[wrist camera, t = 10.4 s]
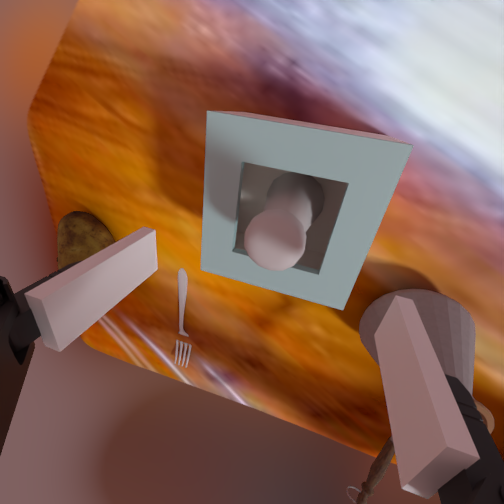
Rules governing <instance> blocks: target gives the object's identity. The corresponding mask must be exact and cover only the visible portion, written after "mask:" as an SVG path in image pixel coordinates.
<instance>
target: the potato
mask: <svg viewBox="0 0 504 504" xmlns="http://www.w3.org/2000/svg"><path fill="white" fill-rule="evenodd" d="M57 241H58V242H57V243H58V257H57V262H58V268H59V269H61V268H63V267H65V266H66V265H68V264H71V263H75V262H78V261H81V260H82V261H83V260H85V259H87V258H89V257H91V256H92V255H94V254H96V253H98V252H100V251H101V250H103V249H105V248H107V247H108V246H110V245H112V244H114V243H115V241H114V239H113V237H112V235H111V234H110V232H109V231H108V229H107V228H106V227H105V226H104V225H103V224H102V223H101V222H100V221H98V220H97V219H96V218H95V217H93V216H92V215H91V214H89V213H86V212H81V211H73V212H71V213H69V214H67V215H65V216H64V217H63V218H62V219H61V220H60V222H59V225H58V237H57Z"/></svg>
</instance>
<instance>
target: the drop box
mask: <svg viewBox="0 0 504 504" xmlns="http://www.w3.org/2000/svg"><path fill="white" fill-rule="evenodd" d="M413 146H414V145H411V144H408V143H406V142H403V141H401V140H398V139H395V138H393V137H390V136H388V135H381V134H375V133H369V132H363V131H357V130H351V129H345V128H339V127H333V126H327V125H321V124H315V123H309V122H303V121H297V120H291V119H285V118H279V117H273V116H267V115H260V114H254V113H248V112H235V111H207V122H206V147H205V172H204V198H203V223H202V248H201V270H203V271H207V272H210V273H214V274H217V275H221V276H224V277H228V278H231V279H235V280H238V281H242V282H245V283H249V284H252V285H256V286H259V287H263V288H266V289H270V290H273V291H277V292H280V293H284V294H287V295H291V296H294V297H298V298H301V299H305V300H308V301H312V302H315V303H319V304H322V305H326V306H329V307H333V308H336V309H340V310H343V309H344V307H345V305H346V302H347V300H348V298H349V295H350V293H351V291H352V288H353V286H354V284H355V281H356V279H357V277H358V274H359V272H360V270H361V267H362V265H363V263H364V260H365V258H366V256H367V253H368V251H369V249H370V246H371V244H372V242H373V239H374V237H375V235H376V232H377V230H378V228H379V225H380V223H381V221H382V218H383V216H384V214H385V211H386V209H387V207H388V204H389V202H390V200H391V197H392V195H393V193H394V190H395V188H396V186H397V183H398V181H399V179H400V176H401V174H402V172H403V169H404V167H405V165H406V162H407V160H408V158H409V155H410V153H411V151H412V148H413ZM287 172H296V173H301V174H306V175H311V176H313V177H314V178H315V179H316V180H317V181H318V182H319V183H320V184H321V187H322V191H323V194H324V198H325V199H324V205H323V211H322V212H321V214H320V215H319V216H318V217H317V219H316V220H315V221H314V222H313V224H312V225H311V226H310V227H309V228H308V230H307V231H306V232H305V233H306V236H307V237H306V244H305V250H304V253H303V255H302V256H301V258H300V259H299V260H298V261H297V262H296V264H295V265H294V266H292V267H290V268H288V269H285V270H283V271H273V270H268V269H265V268H263V267H260V266H258V265H257V264H256V263H255V262H254V261H253V260H252V259H251V258H250V257H249V256H248V253H247V251H246V249H245V247H244V236H245V231H246V229H247V227H248V226H249V224H250V222H251V220H252V219H253V218H254V217H255V216H257V215H259V214H260V213H262V212H264V207H265V202H266V196H267V191H268V189H269V187H270V186H271V184H272V182H273V180H274V179H276V178H277V177H279V176H281V175H282V174H284V173H287Z"/></svg>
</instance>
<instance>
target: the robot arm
mask: <svg viewBox="0 0 504 504" xmlns="http://www.w3.org/2000/svg"><path fill="white" fill-rule="evenodd" d="M156 270H158V267H157V249H156V232H155V230H154V229H150V228H147V227H142V228H141V229H139V230H137V231H135V232H133V233H132V234H130V235H128V236H126V237H124V238H123V239H121V240H119V241H117V242H116V243H114V244H112V245H110V246H108V247H107V248H105V249H103V250H101V251H100V252H98V253H96V254H94V255H92V256H91V257H89V258H87V259H85V260H83V261H82V260H81V261H78V262H75V263H71V264H68V265H66V266H65V267H63V268H61V269H59V270H58V271H57V272H54V273H52V274H50V275H49V276H48V277H45V278H43V279H41V280H39V281H37V282H35V283H34V284H32V285H30V286H28V287H26V288H24V289H22V290H21V291H19V292H17V293H15V294H14V293H13V291H12V289H11V286H10V285H9V282H8V280H7V279H6V278H5V277H2V276H0V455H1V452H2V449H3V445H4V442H5V439H6V436H7V433H8V430H9V426H10V424H11V420H12V417H13V414H14V411H15V408H16V405H17V402H18V398H19V395H20V392H21V389H22V386H23V383H24V380H25V377H26V374H27V371H28V367H29V364H30V361H31V358H32V355H33V352H34V349H35V343H34V340H36V339H37V338H38V337H40V336H41V337H42V340H43V342H44V345H45V346H47V347H49V348H52V349H54V350H57V351H59V352H60V351H61V350H63V349H64V348H65V347H66V346H68V345H69V344H70V343H71V342H72V341H73V340H75V339H76V338H77V337H78V336H79V335H81V334H82V333H83V332H84V331H85V330H87V329H88V328H89V327H90V326H91V325H92V324H94V323H95V322H96V321H97V320H98V319H100V318H101V317H102V316H103V315H104V314H105V313H107V312H108V311H109V310H110V309H111V308H113V307H114V306H115V305H116V304H117V303H118V302H120V301H121V300H122V299H123V298H124V297H126V296H127V295H128V294H129V293H130V292H132V291H133V290H134V289H135V288H136V287H137V286H139V285H140V284H141V283H142V282H143V281H145V280H146V279H147V278H148V277H149V276H150V275H152V274H153V273H154V272H155V271H156ZM374 337H375V342H376V348H377V353H378V359H379V365H380V370H381V376H382V381H383V387H384V393H385V398H386V404H387V409H388V415H389V421H390V426H391V432H392V437H393V443H394V449H395V454H396V460H397V465H398V471H399V476H400V482H401V488H402V489H404V490H406V491H409V492H412V493H414V494H416V495H419V496H421V497H424V498H426V499H429V498H430V497H431V496H433V495H434V494H435V493H437V492H438V493H439V497H440V500H441V504H504V461H503V459H502V457H501V455H500V453H499V451H498V449H497V447H496V445H495V443H494V441H493V439H492V437H491V435H490V433H489V431H488V429H487V427H486V425H485V424H484V423H483V419H482V417H481V415H480V412H479V411H478V410H477V406H476V404H475V402H474V400H473V398H472V396H471V394H470V392H469V391H468V390H467V389H466V388H465V386H464V385H463V384H462V383H461V382H460V380H459V379H458V378H456V377H453V376H450V375H446V374H444V372H443V370H442V368H441V365H440V363H439V360H438V358H437V356H436V353H435V351H434V349H433V346H432V344H431V342H430V339H429V337H428V335H427V332H426V330H425V328H424V325H423V323H422V321H421V318H420V316H419V314H418V311H417V309H416V306H415V304H414V302H413V300H411V299H408V298H404V297H400V296H397V295H396V296H395V298H394V299H393V301H392V303H391V305H390V307H389V309H388V311H387V312H386V314H385V316H384V318H383V320H382V322H381V324H380V325H379V327H378V329H377V331H376V333H375V335H374Z"/></svg>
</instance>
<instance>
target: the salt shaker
mask: <svg viewBox="0 0 504 504" xmlns="http://www.w3.org/2000/svg"><path fill="white" fill-rule="evenodd" d="M324 199H325V198H324V194H323V191H322V187H321V184H320V183H319V182H318V181H317V180H316V179H315V178H314V177H313V176H311V175H306V174H301V173H296V172H287V173H284V174H282V175H281V176H279V177H277V178H276V179H274V180H273V182H272V184H271V186H270V187H269V189H268V191H267V196H266V202H265V207H264V212H262V213H260V214H259V215H257V216H255V217H254V218H253V219H252V220H251V222H250V224H249V226H248V227H247V229H246V231H245V236H244V247H245V249H246V251H247V253H248V256H249V257H250V258H251V259H252V260H253V261H254V262H255V263H256V264H257V265H258V266H260V267H263V268H265V269H268V270H273V271H283V270H285V269H288V268H290V267H292V266H294V265H295V264H296V262H297V261H298V260H299V259H300V258H301V256H302V255H303V253H304V250H305V244H306V237H307V236H306V233H305V232H306V231H307V230H308V228H309V227H310V226H311V225H312V224H313V222H314V221H315V220H316V219H317V217H318V216H319V215H320V214H321V212H322V211H323V205H324Z"/></svg>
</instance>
